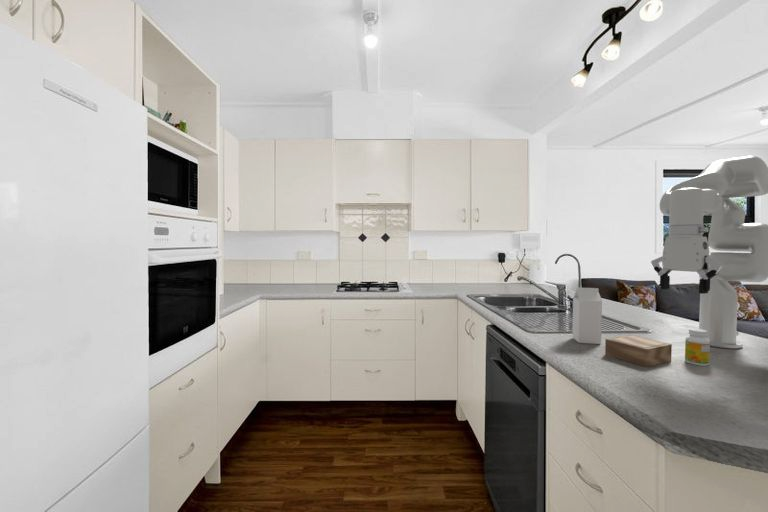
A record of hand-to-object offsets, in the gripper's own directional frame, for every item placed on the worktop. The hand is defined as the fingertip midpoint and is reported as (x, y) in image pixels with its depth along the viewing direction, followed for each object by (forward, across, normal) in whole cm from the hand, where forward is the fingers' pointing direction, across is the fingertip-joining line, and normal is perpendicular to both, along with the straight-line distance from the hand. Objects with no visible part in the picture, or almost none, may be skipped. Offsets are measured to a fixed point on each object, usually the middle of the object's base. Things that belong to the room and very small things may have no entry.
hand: (683, 291), depth 105 cm
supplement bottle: (+21, -2, -4) cm, 22 cm away
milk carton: (+21, +27, +5) cm, 35 cm away
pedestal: (+21, +8, +7) cm, 24 cm away
